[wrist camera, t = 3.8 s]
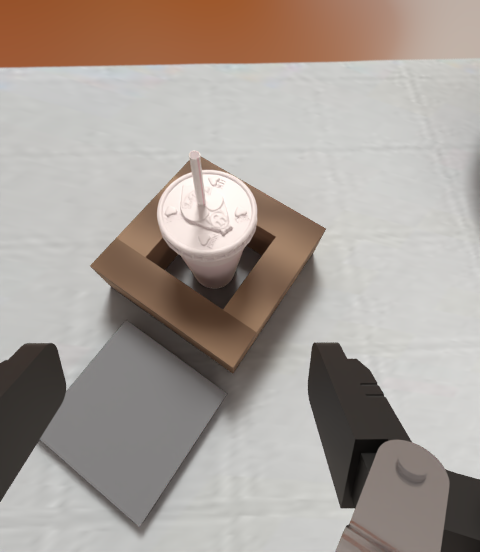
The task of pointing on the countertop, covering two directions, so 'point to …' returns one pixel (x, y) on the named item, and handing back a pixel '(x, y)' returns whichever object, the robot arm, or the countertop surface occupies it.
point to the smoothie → (208, 221)
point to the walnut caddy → (193, 306)
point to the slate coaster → (132, 420)
